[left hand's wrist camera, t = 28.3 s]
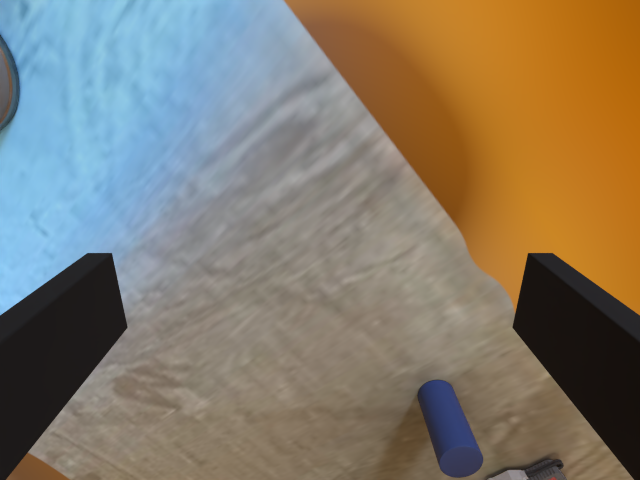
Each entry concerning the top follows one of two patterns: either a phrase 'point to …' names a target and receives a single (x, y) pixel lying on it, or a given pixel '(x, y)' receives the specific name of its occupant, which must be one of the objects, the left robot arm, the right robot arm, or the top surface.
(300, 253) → the top surface
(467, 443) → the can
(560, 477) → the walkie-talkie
